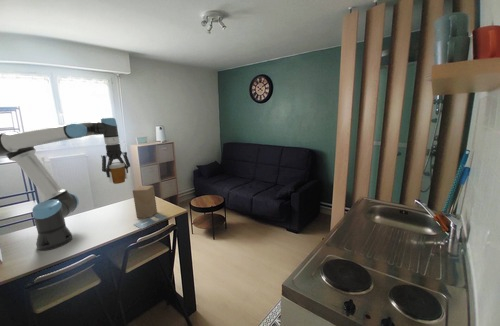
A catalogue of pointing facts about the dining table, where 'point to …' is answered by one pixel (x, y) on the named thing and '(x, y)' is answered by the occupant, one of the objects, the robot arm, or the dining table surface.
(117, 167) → the disposable coffee cup
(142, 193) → the wooden block
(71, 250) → the dining table surface
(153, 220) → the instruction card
